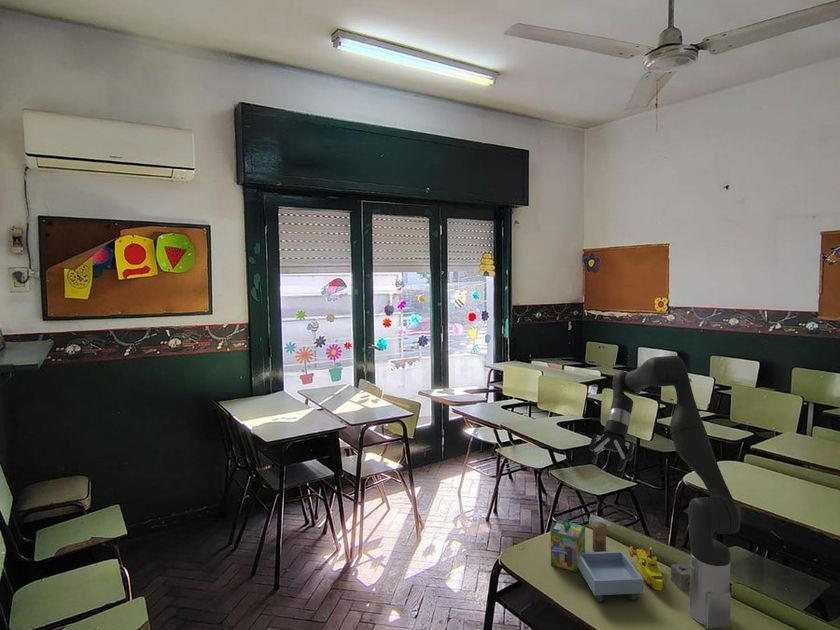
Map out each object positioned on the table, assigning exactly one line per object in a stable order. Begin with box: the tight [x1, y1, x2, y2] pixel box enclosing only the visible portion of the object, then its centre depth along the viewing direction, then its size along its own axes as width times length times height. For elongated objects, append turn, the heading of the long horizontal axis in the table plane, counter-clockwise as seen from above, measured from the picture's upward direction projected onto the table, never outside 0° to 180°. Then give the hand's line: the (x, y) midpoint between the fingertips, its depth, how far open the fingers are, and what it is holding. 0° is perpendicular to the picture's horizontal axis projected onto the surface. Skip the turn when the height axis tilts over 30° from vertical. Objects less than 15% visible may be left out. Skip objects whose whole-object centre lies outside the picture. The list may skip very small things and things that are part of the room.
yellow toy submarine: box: [629, 546, 664, 591], centre depth 151 cm, size 6×18×10 cm, turn 174°
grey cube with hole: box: [670, 563, 690, 591], centre depth 149 cm, size 5×5×5 cm
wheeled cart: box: [577, 550, 645, 603], centre depth 147 cm, size 14×14×7 cm
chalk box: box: [550, 514, 586, 574], centre depth 160 cm, size 9×9×15 cm
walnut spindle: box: [592, 521, 607, 552], centre depth 167 cm, size 4×4×9 cm
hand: (606, 466), depth 172 cm, fingers open, 8 cm apart
